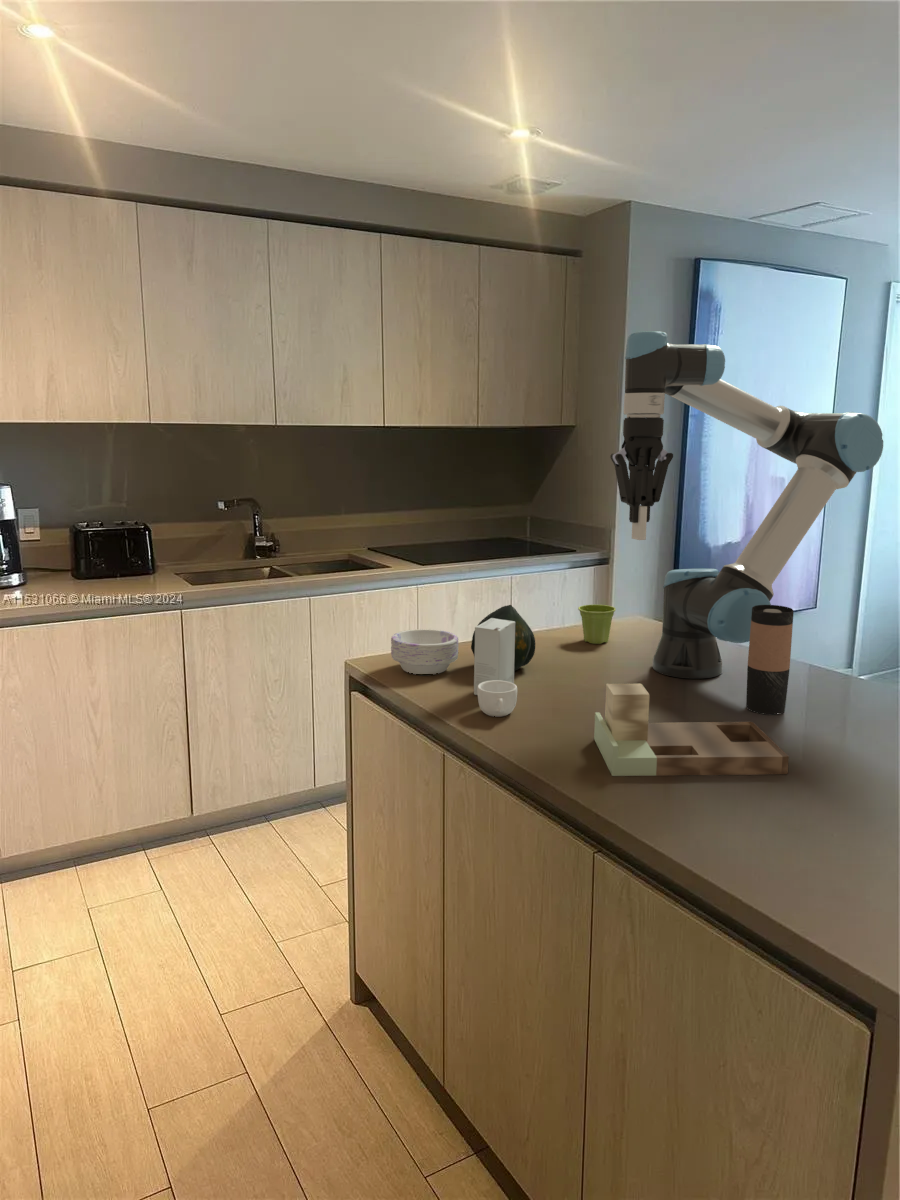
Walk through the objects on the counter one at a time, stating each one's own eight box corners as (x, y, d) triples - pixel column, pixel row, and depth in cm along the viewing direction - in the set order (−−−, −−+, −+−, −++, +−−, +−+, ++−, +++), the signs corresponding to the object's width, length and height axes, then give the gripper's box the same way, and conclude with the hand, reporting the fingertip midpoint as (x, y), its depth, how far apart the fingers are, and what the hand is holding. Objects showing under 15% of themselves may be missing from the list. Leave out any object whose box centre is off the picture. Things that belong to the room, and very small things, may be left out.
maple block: (639, 727, 149) (641, 683, 147) (647, 740, 143) (649, 694, 142) (604, 727, 149) (606, 683, 147) (611, 740, 143) (613, 694, 142)
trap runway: (751, 737, 152) (752, 721, 152) (787, 774, 137) (788, 756, 136) (633, 738, 152) (634, 722, 151) (656, 775, 136) (656, 757, 136)
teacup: (475, 706, 170) (475, 680, 168) (513, 705, 170) (514, 679, 169) (480, 724, 160) (481, 696, 159) (521, 723, 160) (522, 695, 159)
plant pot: (576, 645, 216) (577, 611, 214) (577, 636, 225) (578, 603, 223) (614, 646, 214) (616, 612, 212) (614, 637, 223) (615, 604, 221)
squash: (469, 655, 186) (512, 602, 186) (452, 641, 200) (493, 592, 201) (515, 694, 190) (558, 642, 190) (496, 677, 204) (536, 629, 205)
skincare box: (489, 684, 184) (490, 617, 181) (515, 688, 181) (516, 620, 178) (472, 695, 176) (472, 625, 173) (499, 700, 174) (500, 628, 171)
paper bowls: (472, 669, 195) (472, 635, 193) (423, 683, 185) (423, 648, 183) (426, 656, 206) (425, 624, 204) (377, 670, 195) (376, 636, 193)
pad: (633, 738, 152) (634, 712, 151) (656, 775, 136) (657, 745, 135) (594, 739, 152) (595, 712, 151) (612, 775, 136) (613, 746, 135)
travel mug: (787, 705, 169) (795, 606, 165) (784, 717, 163) (792, 614, 159) (747, 700, 173) (753, 603, 169) (742, 711, 166) (749, 610, 162)
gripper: (624, 416, 158) (620, 543, 163) (684, 416, 163) (678, 539, 168) (603, 416, 165) (599, 538, 170) (661, 416, 170) (655, 535, 174)
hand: (638, 539), depth 169 cm, fingers closed
